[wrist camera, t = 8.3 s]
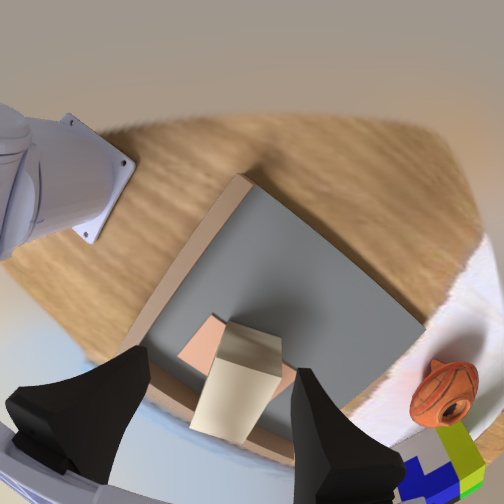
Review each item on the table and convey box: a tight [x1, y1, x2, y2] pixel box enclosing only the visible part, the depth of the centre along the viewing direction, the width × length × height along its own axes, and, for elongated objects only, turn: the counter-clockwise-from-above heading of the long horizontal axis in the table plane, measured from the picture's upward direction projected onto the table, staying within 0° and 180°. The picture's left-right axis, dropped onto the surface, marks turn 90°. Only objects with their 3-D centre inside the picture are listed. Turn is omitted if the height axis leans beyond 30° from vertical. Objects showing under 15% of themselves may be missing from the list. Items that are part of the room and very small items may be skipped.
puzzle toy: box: [390, 420, 486, 504], centre depth 22 cm, size 10×10×10 cm
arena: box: [113, 173, 426, 464], centre depth 22 cm, size 20×19×3 cm
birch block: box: [190, 320, 282, 444], centre depth 20 cm, size 4×8×5 cm, turn 160°
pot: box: [410, 359, 479, 428], centre depth 21 cm, size 8×8×7 cm
